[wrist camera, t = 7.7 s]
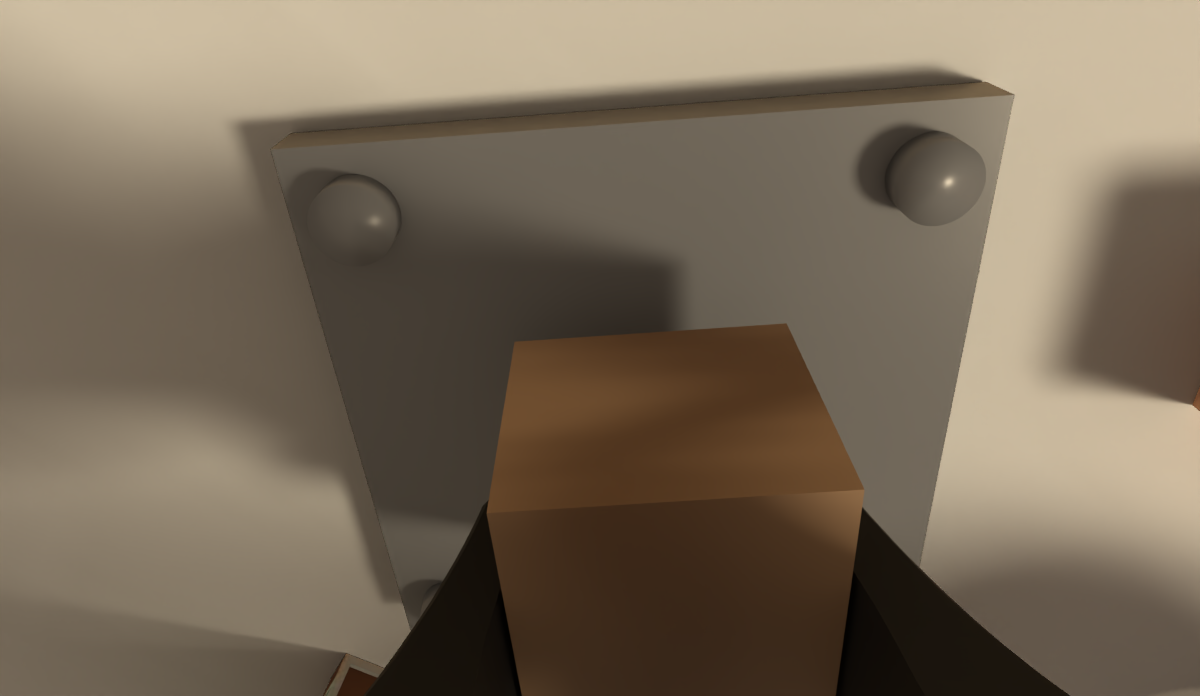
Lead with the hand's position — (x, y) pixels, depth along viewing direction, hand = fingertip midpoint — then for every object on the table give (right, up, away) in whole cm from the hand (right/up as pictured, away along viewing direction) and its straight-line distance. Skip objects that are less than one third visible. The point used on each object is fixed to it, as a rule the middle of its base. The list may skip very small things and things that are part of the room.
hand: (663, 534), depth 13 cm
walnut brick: (0, +1, +1) cm, 1 cm away
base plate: (0, +2, +4) cm, 4 cm away
